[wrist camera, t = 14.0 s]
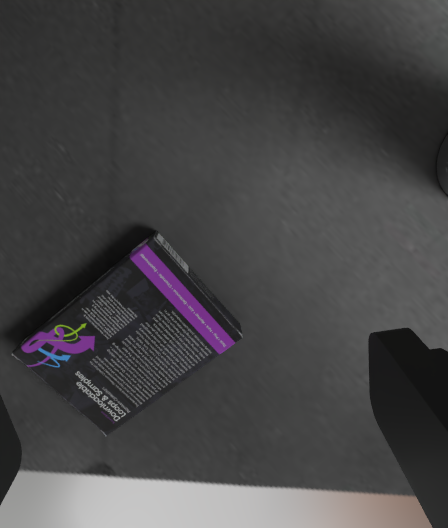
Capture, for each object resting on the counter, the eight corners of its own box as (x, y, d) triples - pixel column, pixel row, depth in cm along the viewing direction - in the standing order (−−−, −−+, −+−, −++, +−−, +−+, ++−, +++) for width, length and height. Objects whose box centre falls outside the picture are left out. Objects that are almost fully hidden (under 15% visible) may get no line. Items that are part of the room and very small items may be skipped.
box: (158, 227, 41) (20, 338, 44) (154, 235, 38) (6, 355, 41) (241, 322, 45) (110, 419, 48) (244, 338, 42) (103, 441, 44)
